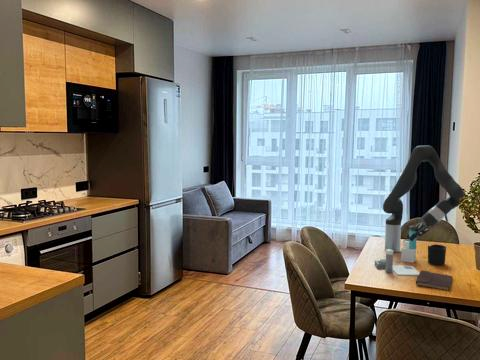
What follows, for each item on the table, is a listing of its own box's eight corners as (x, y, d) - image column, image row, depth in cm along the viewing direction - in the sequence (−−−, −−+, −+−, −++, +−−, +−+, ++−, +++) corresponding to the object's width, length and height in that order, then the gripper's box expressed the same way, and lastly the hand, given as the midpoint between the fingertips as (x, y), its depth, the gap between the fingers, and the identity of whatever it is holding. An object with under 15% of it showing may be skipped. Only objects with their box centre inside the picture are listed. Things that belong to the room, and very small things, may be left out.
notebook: (452, 279, 215) (452, 275, 214) (450, 290, 197) (450, 286, 197) (420, 273, 222) (420, 269, 222) (415, 284, 205) (415, 280, 204)
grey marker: (384, 271, 228) (384, 249, 227) (391, 271, 228) (392, 249, 227) (386, 273, 224) (386, 251, 223) (393, 273, 224) (394, 251, 223)
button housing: (374, 264, 240) (374, 260, 240) (387, 265, 239) (387, 260, 239) (377, 268, 233) (377, 264, 233) (390, 268, 232) (390, 264, 232)
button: (379, 263, 238) (379, 258, 237) (384, 263, 237) (384, 258, 237) (380, 264, 235) (380, 259, 234) (386, 264, 234) (386, 259, 234)
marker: (407, 247, 229) (408, 225, 228) (414, 247, 229) (415, 225, 228) (409, 249, 225) (410, 226, 224) (417, 249, 225) (418, 227, 224)
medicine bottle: (402, 258, 253) (403, 238, 252) (415, 260, 250) (416, 239, 249) (400, 261, 247) (401, 240, 246) (413, 263, 244) (414, 242, 243)
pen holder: (447, 266, 237) (448, 248, 236) (429, 265, 239) (430, 247, 238) (442, 261, 246) (443, 244, 245) (425, 260, 248) (426, 244, 247)
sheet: (389, 266, 237) (389, 265, 237) (411, 266, 236) (411, 265, 236) (397, 275, 221) (397, 274, 221) (421, 275, 220) (421, 274, 220)
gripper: (423, 209, 232) (399, 231, 234) (433, 213, 218) (408, 236, 220) (433, 219, 232) (409, 240, 234) (443, 224, 218) (418, 247, 220)
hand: (408, 238), depth 227 cm, fingers closed on marker, 3 cm apart
